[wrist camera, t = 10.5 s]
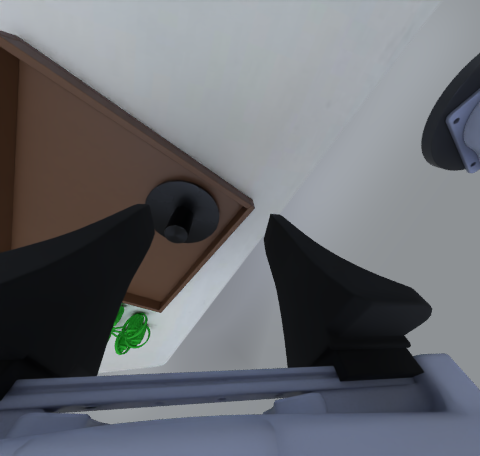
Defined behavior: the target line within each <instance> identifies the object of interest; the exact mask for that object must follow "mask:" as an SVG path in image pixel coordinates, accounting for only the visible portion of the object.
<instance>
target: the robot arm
mask: <svg viewBox="0 0 480 456" xmlns="http://www.w3.org/2000/svg"><path fill="white" fill-rule="evenodd" d="M454 120H455V121H454ZM446 124H447V126H448V128H449V131H450V133H451V136H452V138H453V140H454V143H455V145H456V147H457V150H458V152H459V154H460V157H461V159H462V162H463V164H464V166H465V169H466V171H467V172H468V173H475V172H477V171H478V170H480V88H479V89H478V90H477V91H476V92H475V93H474V94H472V95H471V96H470V97H469V98H468V99H466V100H465V101H464V102H463V103H462V104H460V105H459V106H458V107H457V108H456V109H455V110H453V111H452V112H451V113H450V114H449V115H448V116H447V117H446ZM154 235H155V229H154V224H153V219H152V215H151V210H150V205H149V204H136V205H133V206H130V207H128V208H126V209H124V210H122V211H119V212H117V213H115V214H113V215H111V216H108V217H106V218H104V219H102V220H99V221H97V222H95V223H92V224H90V225H87V226H85V227H83V228H80V229H78V230H75V231H72V232H69V233H66V234H64V235H61V236H58V237H55V238H52V239H48V240H45V241H41V242H38V243H34V244H31V245H27V246H24V247H20V248H17V249H13V250H9V251H5V252H1V253H0V456H480V390H479V389H478V388H477V386H476V385H475V384H474V383H473V382H472V381H471V380H470V378H469V377H468V376H467V375H466V374H465V373H464V372H463V371H462V370H461V368H460V367H459V366H458V365H457V364H456V363H455V362H454V361H453V359H451V357H450V356H449V355H447V354H444V353H442V354H421V355H416V356H412V355H411V353H410V352H409V351H408V349H407V348H409V347H410V346H411V345H410V342H409V341H408V340H407V338H406V337H405V336H404V335H406V334H407V333H408V332H410V331H412V330H413V329H415V328H416V327H418V326H419V325H421V324H422V323H424V322H425V321H426V320H427V319H428V318H429V317H430V316H431V312H432V308H431V306H430V305H429V304H428V303H427V302H426V301H425V300H424V299H423V298H422V297H421V296H420V295H419V294H418V293H417V292H416V291H415V290H414V289H412V288H411V287H408V286H405V285H403V284H400V283H397V282H395V281H392V280H389V279H387V278H384V277H381V276H379V275H377V274H374V273H372V272H370V271H368V270H365V269H363V268H361V267H359V266H357V265H355V264H353V263H351V262H349V261H347V260H345V259H343V258H341V257H339V256H337V255H335V254H334V253H332V252H330V251H329V250H327V249H325V248H324V247H322V246H320V245H319V244H318V243H316V242H314V241H313V240H312V239H311V238H309V237H308V236H306V235H305V234H304V233H303V232H301V231H300V230H299V229H298V228H296V227H295V226H294V225H293V224H291V223H290V222H289V221H287V220H286V219H285V218H284V217H283V216H281V215H277V214H270V218H269V222H268V225H267V229H266V233H265V237H264V245H265V250H266V255H267V258H268V262H269V265H270V269H271V272H272V275H273V279H274V282H275V286H276V290H277V295H278V300H279V306H280V312H281V318H282V324H283V332H284V339H285V348H286V356H287V365H288V368H277V369H252V370H229V371H207V372H184V373H160V374H137V375H115V376H97V374H98V371H99V367H100V364H101V361H102V358H103V355H104V352H105V348H106V345H107V342H108V339H109V337H110V334H111V331H112V328H113V325H114V322H115V320H116V317H117V314H118V312H119V309H120V307H121V304H122V302H123V299H124V297H125V294H126V292H127V290H128V287H129V285H130V283H131V281H132V279H133V277H134V275H135V274H136V272H137V270H138V268H139V266H140V265H141V263H142V261H143V259H144V257H145V256H146V254H147V252H148V250H149V248H150V246H151V243H152V241H153V238H154ZM275 398H283V399H279V400H275V402H274V406H273V407H272V408H271V409H269V410H267V411H266V412H264V413H263V414H256V415H255V414H252V415H219V416H201V417H186V418H185V417H184V418H172V419H159V420H148V421H138V422H128V423H119V424H107V423H102V422H98V421H96V420H93V419H91V417H90V416H89V415H88V414H68V413H66V412H81V411H96V410H111V409H126V408H141V407H155V406H169V405H185V404H199V403H215V402H230V401H244V400H260V399H275Z"/></svg>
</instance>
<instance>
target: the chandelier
mask: <svg viewBox="0 0 480 456" xmlns="http://www.w3.org/2000/svg"><path fill="white" fill-rule="evenodd" d="M121 305H122V304H121ZM123 313H124V307H122V306H121V307H120V309H119V312H118V314H117V317H116V320H115V322H114V325H113V326H116V324H117V323H118V322H119V321H120V319H121V317H122V315H123ZM142 315H144V316H145V323H144V324H143V321H144V317H143V316H142ZM147 321H148V318H147V316H146V315H145V314H144V313H137V314H135V315H133V316H131V317H130V318H129V319H128V320H127V321H126V323H125V324H124V326H123V327H117V328H114V327H113V328H112V331H111V334H112V335H114V336H115V337H117V338H116V341H115V351H116V353H117V354H119V355H122V354H125V353H127V352H128V351H129V349H130V348H139V347H141V346H143V345H144V344H145V343H146V342H147V341H148V339H149V337H150V329H149V327H148V326H147ZM128 323H129V324H128ZM127 324H128V326H127ZM126 326H127V329H126V330H125V328H126ZM120 328H122V331H115V329H120ZM146 328H147V330H148V333H149V335H148V339H147V340H146V342H145V343H144V344H142V345H140V346H137V344H140V343H141V341H142V339H143V337H144V334H145V332H146ZM125 331H126V332H125ZM113 332H118V333H119V335H118V336H117V335H116V334H114V333H113ZM111 334H110V337H111ZM110 337H109V339H110ZM109 339H108V341H109ZM107 343H108V342H107ZM127 347H128V348H127ZM126 349H127V350H126ZM123 350H126V351H125V352H123ZM122 352H123V353H122Z"/></svg>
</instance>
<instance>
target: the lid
mask: <svg viewBox="0 0 480 456" xmlns="http://www.w3.org/2000/svg"><path fill="white" fill-rule="evenodd" d="M145 204H149V205H150V210H151V215H152V219H153V224H154V229H155V231H157V232H158V233H159V234H160V235H162V236H163V237H165V238H166V239H167V240H168V241H170V242H172V243H177V244H179V243H195V242H199V241H202V240H204V239H206V238H208V237H209V236H211V235H212V234H213V233H214V231H215V230H216V228H217V226H218V223H219V208H218V205H217V203H216V201H215V199H214V198H213V196H212V195H211V194H210V193H209V192H208V191H207V190H206V189H204V188H203V187H201V186H199V185H198V184H195V183H193V182H190V181H185V180H169V181H165V182H163V183H161V184H159V185H157V186H156V187H155V188H153V190H152V191H151V192H150V193H149V195H148V196H147V198H146V201H145Z"/></svg>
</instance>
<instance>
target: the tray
mask: <svg viewBox="0 0 480 456" xmlns="http://www.w3.org/2000/svg"><path fill="white" fill-rule="evenodd" d="M169 180H185V181H190V182H193V183H195V184H198V185H199V186H201V187H203V188H204V189H206V190H207V191H208V192H209V193H210V194H211V195H212V196H213V198H214V199H215V201H216V203H217V205H218V208H219V223H218V226H217V228H216V230H215V231H214V233H213V234H212V235H211V236H209V237H208V238H206V239H204V240H202V241H199V242H195V243H179V244H177V243H172V242H170V241H168V240H167V239H166V238H165V237H163V236H162V235H160V234H159V233H158V232H157V231H155V235H154V238H153V241H152V243H151V246H150V248H149V250H148V252H147V254H146V256H145V257H144V259H143V261H142V263H141V265H140V266H139V268H138V270H137V272H136V274H135V275H134V277H133V279H132V281H131V283H130V285H129V287H128V290H127V292H126V294H125V297H124V299H123V302H122V303H126V304H130V305H133V306H137V307H141V308H145V309H148V310H152V311H156V312H160V313H161V312H162V311H163V310H164V309H165V308H166V307H167V305H168V304H169V303H170V302H171V301H172V300H173V299H174V298H175V297H176V295H177V294H178V293H179V292H180V291H181V290H182V289H183V288H184V287H185V285H186V284H187V283H188V282H189V281H190V280H191V279H192V278H193V276H194V275H195V274H196V273H197V272H198V271H199V270H200V269H201V268H202V266H203V265H204V264H205V263H206V262H207V261H208V260H209V259H210V258H211V256H212V255H213V254H214V253H215V252H216V251H217V250H218V249H219V248H220V246H221V245H222V244H223V243H224V242H225V241H226V240H227V239H228V237H229V236H230V235H231V234H232V233H233V232H234V231H235V230H236V229H237V227H238V226H239V225H240V224H241V223H242V222H243V221H244V220H245V219H246V217H247V216H248V215H249V214H250V213H251V212H252V211H253V210H254V209H255V207H254V203H253V200H252V199H251V198H249V197H248V196H246V195H245V194H243V193H242V192H240V191H239V190H238V189H236V188H235V187H233V186H232V185H230V184H229V183H228V182H226V181H225V180H223V179H222V178H220V177H219V176H217V175H216V174H215V173H213V172H212V171H210V170H209V169H207V168H206V167H204V166H203V165H202V164H200V163H199V162H197V161H196V160H194V159H193V158H192V157H190V156H189V155H187V154H186V153H184V152H183V151H181V150H180V149H179V148H177V147H176V146H174V145H173V144H171V143H170V142H169V141H167V140H166V139H164V138H163V137H161V136H160V135H158V134H157V133H156V132H154V131H153V130H151V129H150V128H148V127H147V126H145V125H144V124H143V123H141V122H140V121H138V120H137V119H135V118H134V117H133V116H131V115H130V114H128V113H127V112H125V111H124V110H122V109H121V108H120V107H118V106H117V105H115V104H114V103H112V102H111V101H110V100H108V99H107V98H105V97H104V96H102V95H101V94H99V93H98V92H97V91H95V90H94V89H92V88H91V87H89V86H88V85H86V84H85V83H84V82H82V81H81V80H79V79H78V78H76V77H75V76H74V75H72V74H71V73H69V72H68V71H66V70H65V69H63V68H62V67H61V66H59V65H58V64H56V63H55V62H53V61H52V60H51V59H49V58H48V57H46V56H45V55H43V54H42V53H40V52H39V51H38V50H36V49H35V48H33V47H32V46H30V45H29V44H27V43H26V42H25V41H23V40H22V39H20V38H19V37H17V36H15V35H12V34H9V33H6V32H3V31H0V253H1V252H5V251H9V250H13V249H17V248H20V247H24V246H27V245H31V244H34V243H38V242H41V241H45V240H48V239H52V238H55V237H58V236H61V235H64V234H66V233H69V232H72V231H75V230H78V229H80V228H83V227H85V226H87V225H90V224H92V223H95V222H97V221H99V220H102V219H104V218H106V217H108V216H111V215H113V214H115V213H117V212H119V211H122V210H124V209H126V208H128V207H130V206H133V205H136V204H145V201H146V198H147V196H148V195H149V193H150V192H151V191H152V190H153V188H155V187H156V186H157V185H159V184H161V183H163V182H165V181H169Z"/></svg>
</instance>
